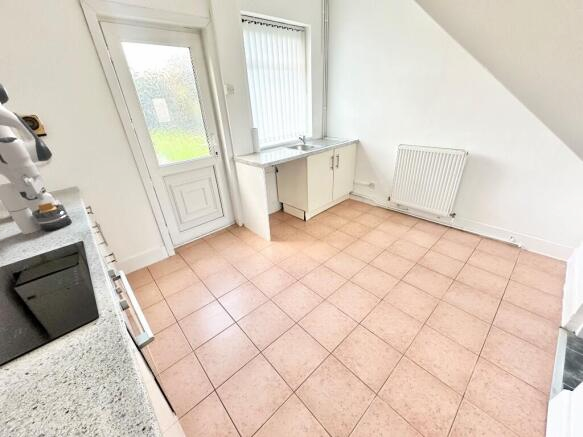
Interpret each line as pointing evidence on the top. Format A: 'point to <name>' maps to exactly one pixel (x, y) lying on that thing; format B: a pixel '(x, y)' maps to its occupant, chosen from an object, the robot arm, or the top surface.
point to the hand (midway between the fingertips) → (42, 199)
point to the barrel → (52, 218)
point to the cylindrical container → (18, 208)
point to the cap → (46, 207)
